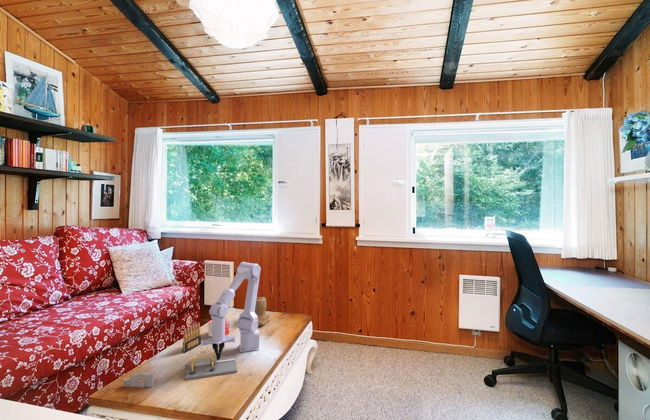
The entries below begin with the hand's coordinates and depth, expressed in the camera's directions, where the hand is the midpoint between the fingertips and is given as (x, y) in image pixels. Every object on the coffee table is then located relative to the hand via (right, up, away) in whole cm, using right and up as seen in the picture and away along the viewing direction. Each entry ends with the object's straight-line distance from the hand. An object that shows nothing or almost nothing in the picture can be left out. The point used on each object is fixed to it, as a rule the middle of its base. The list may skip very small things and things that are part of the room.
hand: (218, 358), depth 147 cm
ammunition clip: (-19, -2, +16) cm, 25 cm away
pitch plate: (-2, -3, -3) cm, 4 cm away
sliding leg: (-2, -1, -3) cm, 4 cm away
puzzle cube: (-11, -2, +32) cm, 34 cm away
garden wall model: (-27, -3, -17) cm, 32 cm away
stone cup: (+8, -2, +51) cm, 52 cm away
